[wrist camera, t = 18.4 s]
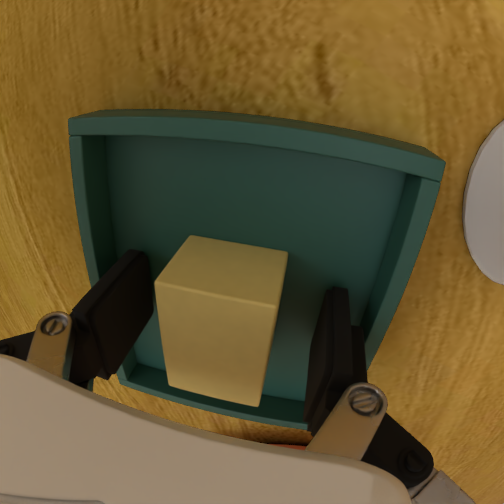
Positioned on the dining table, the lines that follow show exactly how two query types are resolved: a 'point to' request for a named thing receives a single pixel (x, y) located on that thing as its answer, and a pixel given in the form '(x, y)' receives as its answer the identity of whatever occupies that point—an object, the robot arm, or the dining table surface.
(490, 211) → the wineglass
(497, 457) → the dining table surface
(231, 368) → the butter
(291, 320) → the tray
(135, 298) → the robot arm
